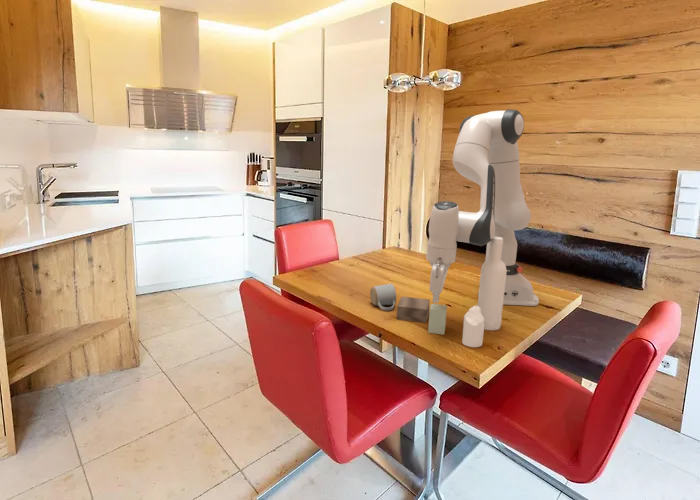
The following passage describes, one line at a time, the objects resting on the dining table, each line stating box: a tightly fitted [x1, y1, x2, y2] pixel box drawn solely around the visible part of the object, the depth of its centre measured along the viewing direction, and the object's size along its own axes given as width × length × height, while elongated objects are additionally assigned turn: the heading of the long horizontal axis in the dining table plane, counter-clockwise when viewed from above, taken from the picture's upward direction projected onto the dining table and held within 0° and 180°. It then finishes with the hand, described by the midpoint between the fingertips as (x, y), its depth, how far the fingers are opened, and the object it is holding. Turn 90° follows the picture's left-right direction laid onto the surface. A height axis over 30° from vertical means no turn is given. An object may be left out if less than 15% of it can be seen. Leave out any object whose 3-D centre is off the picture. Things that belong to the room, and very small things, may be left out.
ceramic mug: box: [369, 283, 397, 312], centre depth 157 cm, size 11×8×8 cm
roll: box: [461, 304, 485, 348], centre depth 127 cm, size 6×12×6 cm
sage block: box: [427, 303, 448, 336], centre depth 136 cm, size 5×5×8 cm
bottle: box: [477, 237, 507, 331], centre depth 138 cm, size 8×8×30 cm
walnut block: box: [396, 296, 431, 324], centre depth 149 cm, size 10×10×5 cm
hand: (437, 297), depth 135 cm, fingers open, 8 cm apart
